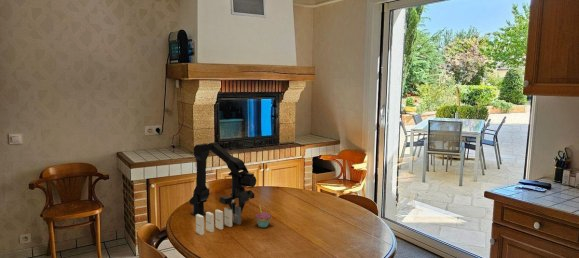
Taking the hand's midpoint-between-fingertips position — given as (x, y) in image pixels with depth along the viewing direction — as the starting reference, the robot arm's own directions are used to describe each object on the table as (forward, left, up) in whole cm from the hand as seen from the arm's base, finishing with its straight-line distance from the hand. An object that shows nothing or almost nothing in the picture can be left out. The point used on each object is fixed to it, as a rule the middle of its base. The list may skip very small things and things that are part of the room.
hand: (237, 213), depth 209 cm
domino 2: (0, -17, -5) cm, 17 cm away
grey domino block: (0, 0, -5) cm, 5 cm away
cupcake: (+12, +8, -6) cm, 15 cm away
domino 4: (0, -6, -5) cm, 8 cm away
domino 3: (0, -11, -5) cm, 12 cm away
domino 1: (0, -22, -5) cm, 23 cm away
